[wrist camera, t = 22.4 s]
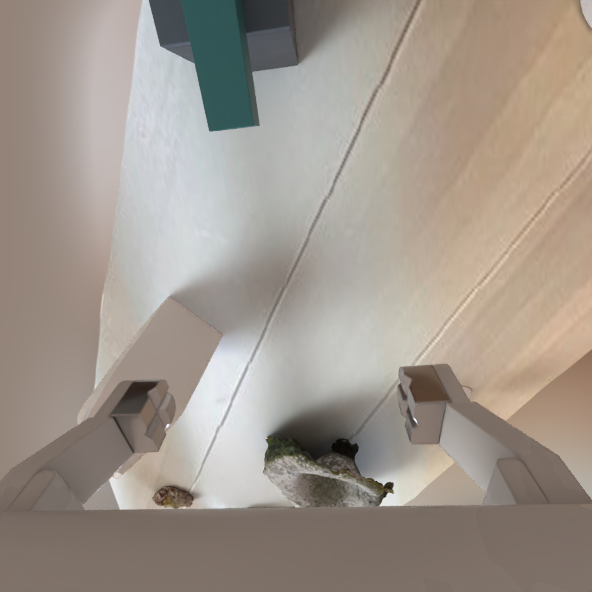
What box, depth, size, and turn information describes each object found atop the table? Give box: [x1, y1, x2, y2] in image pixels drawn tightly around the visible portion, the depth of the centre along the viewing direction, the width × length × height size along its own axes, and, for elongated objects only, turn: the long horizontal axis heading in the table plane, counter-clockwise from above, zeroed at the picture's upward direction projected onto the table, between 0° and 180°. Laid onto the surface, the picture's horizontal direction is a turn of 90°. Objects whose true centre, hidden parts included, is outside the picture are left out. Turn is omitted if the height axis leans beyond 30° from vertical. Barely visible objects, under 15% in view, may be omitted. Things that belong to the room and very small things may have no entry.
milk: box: [77, 296, 223, 479], centre depth 48 cm, size 12×12×26 cm
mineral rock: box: [152, 487, 194, 509], centre depth 85 cm, size 11×4×8 cm
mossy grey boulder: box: [263, 436, 394, 507], centre depth 68 cm, size 29×30×15 cm
